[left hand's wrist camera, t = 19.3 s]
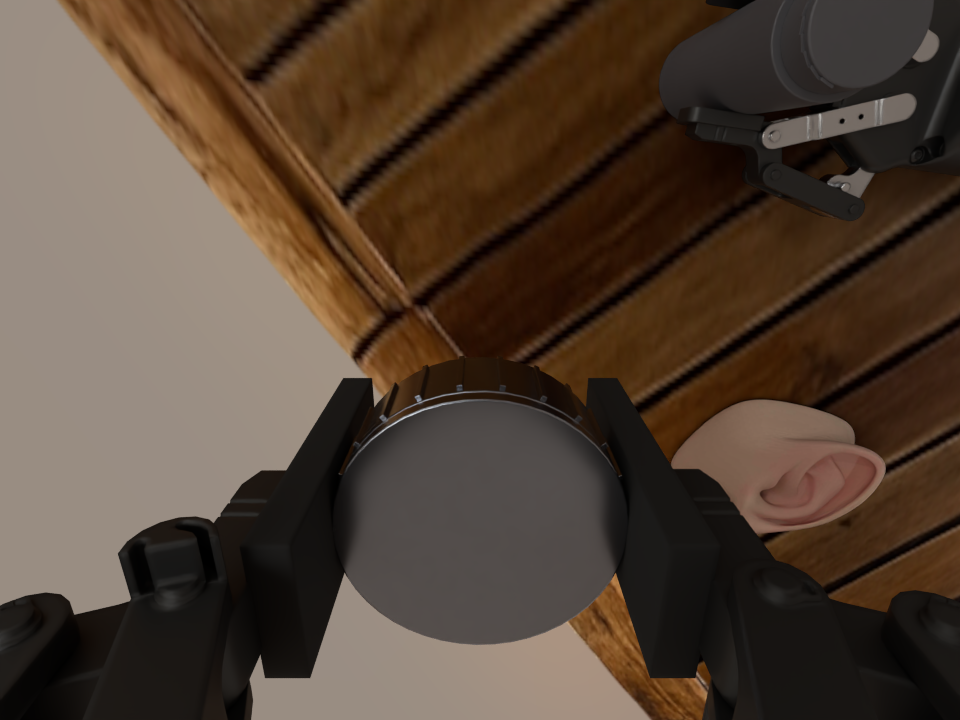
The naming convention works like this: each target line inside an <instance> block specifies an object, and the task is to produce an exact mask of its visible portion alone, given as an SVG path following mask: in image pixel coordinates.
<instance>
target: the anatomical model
mask: <svg viewBox="0 0 960 720" xmlns="http://www.w3.org/2000/svg"><path fill="white" fill-rule="evenodd" d="M854 443H855V435H854V431H853V429H852V427H851V426H850V425H849V424H848V423H847V422H846V421H844V420H842V419H840V418H838V417H836V416H834V415H832V414H829V413H826V412H823V411H820V410H817V409H813V408H809V407H806V406H801V405H797V404H792V403H787V402H781V401H774V400H748V401H744V402H740V403H737V404H735V405H732V406H730V407H728V408H726V409H724V410H723V411H721V412H720V413H718V414H716V415H715V416H713V417H712V418H711V419H710V420H708V421H707V422H706V423H704V424H703V425H702V426H701V427H700V428H699V429H698V430H697V431H695V432H694V433H693V434H692V435H691V436H690V437H689V438H688V439H687V440H686V441H685V442H684V444H683V445H682V446H681V447H680V448H679V449H678V451H677V452H676V454H675V455H674V457H673V459H672V463H671V466H672V468H673V469H700V470H701V471H703V472H704V473H706V474H707V475H709V476H710V477H711V478H713V479H714V480H716V481H717V482H719V484H720V485H721V486H722V488H723V489H724V490H725V492H726V493H727V495H728V496H729V497H730V501H731V502H733V503H734V504H735V506H736V507H737V508H738V510H739V511H740V515H743V516H744V518H745V519H746V521H747V522H748V523H749V525H750V526H751V527H752V529H753V530H754V531H755V533H756V534H759V533H770V532H780V531H790V530H799V529H805V528H810V527H814V526H818V525H822V524H824V523H827V522H830V521H832V520H834V519H836V518H838V517H840V516H842V515H844V514H846V513H848V512H849V511H851V510H853V509H854V508H856V507H857V506H859V505H860V504H861V503H862V502H864V501H865V500H866V499H867V498H868V497H869V496H870V495H871V494H872V493H873V492H874V491H875V489H876V488H877V487H878V485H879V484H880V482H881V481H882V479H883V477H884V474H885V469H886V468H885V463H884V461H883V459H882V458H881V457H880V456H879V455H878V454H876V453H875V452H873V451H871V450H869V449H867V448H864V447H861V446H858V445H855V444H854Z"/></svg>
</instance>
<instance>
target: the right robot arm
mask: <svg viewBox="0 0 960 720" xmlns="http://www.w3.org/2000/svg"><path fill="white" fill-rule="evenodd" d="M753 1H755V0H706V3H707V4H709V5H714V6H720V7H727V8H733V9H741V8H743V7H744V6H746V5H748V4H750V3H752V2H753ZM809 110H811V111H810V112H806V113H802V114H798V115H793V116H789V117H785V118H783V119H779V120H775V121H770V122H766V121H764V118H765V116H759V115H752V114H744V113H738V112H731V111H724V110H717V109H710V108H703V107H686V108H682V109H680V111H679V115H678V119H677V124H682V125H687V129H686V133H685V135H686V136H688V137H690V138H691V139H693V140H698V141H705V142H712V143H719V144H726V145H733V146H738V147H740V148H741V149H742V150H743V151H744V153H745V156H746V167H745V168H744V169H743V172H742V179H743V181H744V182H745V183H746V184H748V185H750V186H753V187H755V188H757V189H760V190H762V191H764V192H766V193H769V194H771V195H773V196H776V197H778V198H780V199H783V200H785V201H787V202H790V203H792V204H794V205H796V206H799V207H801V208H803V209H806V210H808V211H810V212H813V213H815V214H817V215H820V216H824V217H829V218H834V219H840V220H846V221H854V220H856V219H858V218H859V217H860V216H861V215H862V214H863V212H864V209H865V204H864V201H863V200H862V199H860V197H861V195H862V193H863V192H864V190H865V189H866V187H867V185H868V184H869V182H870V180H871V179H872V177H873V176H874V174H875V173H881V172H884V171H887V170H889V169H892V168H896V167H899V168H906V169H913V170H921V171H928V172H935V173H942V174H949V175H956V176H960V0H934V7H933V14H932V19H931V23H930V26H929V29H928V31H927V34H926V36H925V38H924V40H923V42H922V44H921V46H920V47H919V49H918V50H917V52H916V53H915V54H914V56H913V57H912V58H911V60H910V61H909V62H908V63H907V64H906V65H905V66H904V67H903V68H902V69H900V70H899V71H898V72H897V73H896V74H894V75H893V76H891V77H890V78H888V79H887V80H885V81H883V82H881V83H879V84H876V85H874V86H870V87H866V88H863V89H861V90H860V91H858V92H857V93H855V94H853V95H852V96H850V97H848V98H845V99H843V100H840V101H836V102H832V103H826V104H819V105H812V106H810V109H809ZM823 138H826V139H827V141H828V142H829V143H830V145H831V146H832V147H833V148H834V150H835V151H836V152H837V154H838V155H839V156H840V158H841V159H842V160H843V161H844V163H845V164H846V165H847V167H848V169H847V170H846V171H845V172H844V173H843V174H840V175H834V174H827V175H825V176H823V177H821V178H820V179H819V180H818V179H815V178H813V177H811V176H809V175H806V174H804V173H802V172H800V171H797V170H795V169H793V168H791V167H788V166H786V165H784V164H782V147H785V146H789V145H793V144H797V143H802V142H806V141H811V140H818V139H823Z"/></svg>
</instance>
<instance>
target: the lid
mask: <svg viewBox="0 0 960 720" xmlns="http://www.w3.org/2000/svg"><path fill="white" fill-rule="evenodd" d="M337 478H339V479H340V481H339V484H338V487H337V490H336V493H335V496H334V501H333V507H332V529H333V537H334V545H335V550H336V553H337V556H338V559H339V562H340V564H341V566H342V568H343V570H344V572H345V574H346V576H347V577H348V579H349V580H350V582H351V583H352V585H353V586H354V587H355V589H356V590H357V591H358V592H359V593H360V595H361V596H362V597H363V598H364V599H365V600H366V601H367V602H368V603H369V604H370V605H371V606H373V607H374V608H375V609H376V610H377V611H378V612H380V613H381V614H383V615H384V616H386V617H387V618H389V619H390V620H392V621H393V622H395V623H397V624H399V625H401V626H403V627H405V628H406V629H408V630H411V631H413V632H416V633H419V634H421V635H424V636H427V637H431V638H434V639H438V640H442V641H448V642H453V643H459V644H474V645H483V644H500V643H507V642H514V641H518V640H522V639H527V638H530V637H533V636H536V635H539V634H542V633H545V632H547V631H549V630H551V629H554V628H556V627H558V626H560V625H562V624H563V623H565V622H567V621H569V620H570V619H572V618H574V617H575V616H576V615H578V614H579V613H580V612H582V611H583V610H584V609H586V608H587V607H588V606H589V605H590V604H591V603H592V602H593V601H594V600H595V599H596V598H597V597H598V596H599V595H600V594H601V593H602V592H603V590H604V589H605V588H606V587H607V585H608V584H609V583H610V581H611V580H612V578H613V576H614V574H615V573H616V571H617V569H618V567H619V565H620V562H621V560H622V557H623V555H624V552H625V547H626V540H627V532H628V523H629V512H628V503H627V499H626V495H625V491H624V488H623V485H622V483H621V480H623V475H622V473H621V471H620V469H619V466H618V464H617V462H616V460H615V457H614V455H613V453H612V451H611V448H610V446H609V444H608V442H607V440H606V437H604V435H603V433H602V431H601V428H600V426H599V424H598V422H597V419H596V417H595V415H594V413H593V411H592V409H591V408H589V409H587V408H586V407H585V406H584V404H583V403H582V402H581V401H580V400H579V398H578V397H577V396H576V395H575V394H574V393H573V392H572V390H571V387H570V386H569V385H568V384H567V383H566V384H565V385H563V384H562V383H560V382H559V381H557V380H556V379H554V378H553V377H551V376H550V375H548V374H546V373H544V372H542V371H540V369H539V367H538V366H534V367H530V366H527V365H524V364H522V363H518V362H514V361H509V360H504V359H503V357H502V356H498V358H485V357H481V358H465V357H464V356H459V359H457V360H451V361H446V362H443V363H439V364H436V365H432V366H430V367H428V365H425V366H423V368H422V370H421V371H418V372H416V373H414V374H413V375H411V376H409V377H408V378H406V379H404V380H403V381H401V382H400V383H399V384H396V382H395V383H394V384H392V386H391V388H390V391H389V392H388V393H387V394H386V395H385V396H384V397H383V398H382V399H381V400H380V401H379V402H378V403H377V405H376V406H375V408H372V407H370V408H369V410H368V412H367V414H366V416H365V419H364V421H363V423H362V425H361V428H360V430H359V432H358V435H357V436H355V438H354V440H353V442H352V444H351V447H350V449H349V451H348V453H347V456H346V458H345V460H344V462H343V465H342V467H341V469H340V471H339V474H338V477H337Z"/></svg>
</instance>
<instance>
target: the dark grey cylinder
mask: <svg viewBox="0 0 960 720" xmlns="http://www.w3.org/2000/svg"><path fill="white" fill-rule="evenodd" d="M933 7H934V0H755V1H753V2H752V3H750V4H748V5H746V6H744V7H743V8H741V9H739V10H737V11H736V12H734V13H732V14H730V15H729V16H727V17H725V18H723V19H722V20H720V21H718V22H716V23H715V24H713V25H711V26H709V27H707V28H706V29H704V30H702V31H700V32H699V33H697V34H695V35H693V36H692V37H690V38H688V39H686V40H685V41H683V42H681V43H680V44H679V45H677V46H676V47H675V48H674V49H673V51H672V52H671V53H670V54H669V56H668V57H667V59H666V61H665V63H664V65H663V67H662V70H661V74H660V80H659V91H660V96H661V100H662V102H663V104H664V106H665V108H666V109H667V111H668V112H669V113H670V114H671V115H672V116H673V117H675V118H676V119H678V115H679V111H680V109H682V108H686V107H703V108H710V109H717V110H724V111H731V112H738V113H744V114H752V115H753V114H760V113H766V112H773V111H780V110H786V109H793V108H799V107H806V106H812V105H819V104H826V103H832V102H836V101H840V100H843V99H845V98H848V97H850V96H852V95H853V94H855V93H857V92H858V91H860V90H861V89H863V88H866V87H870V86H874V85H876V84H879V83H881V82H883V81H885V80H887V79H888V78H890V77H891V76H893V75H894V74H896V73H897V72H898V71H899V70H900V69H902V68H903V67H904V66H905V65H906V64H907V63H908V62H909V61H910V60H911V58H912V57H913V56H914V54H915V53H916V52H917V50H918V49H919V47H920V46H921V44H922V42H923V40H924V38H925V36H926V34H927V31H928V29H929V26H930V23H931V19H932V14H933Z"/></svg>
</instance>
